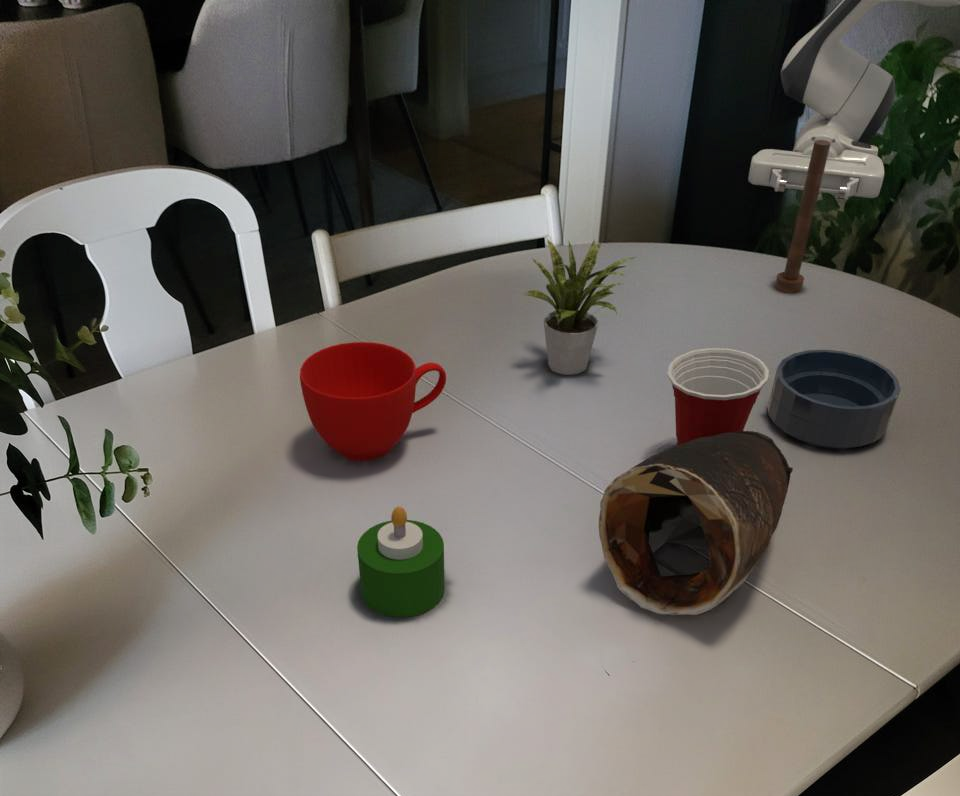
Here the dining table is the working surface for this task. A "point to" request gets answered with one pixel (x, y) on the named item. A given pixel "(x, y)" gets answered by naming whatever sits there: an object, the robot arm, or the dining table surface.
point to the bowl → (832, 398)
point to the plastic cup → (714, 391)
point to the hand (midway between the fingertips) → (811, 190)
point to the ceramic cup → (363, 396)
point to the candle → (401, 566)
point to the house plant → (573, 309)
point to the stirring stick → (804, 220)
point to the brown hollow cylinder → (694, 518)
